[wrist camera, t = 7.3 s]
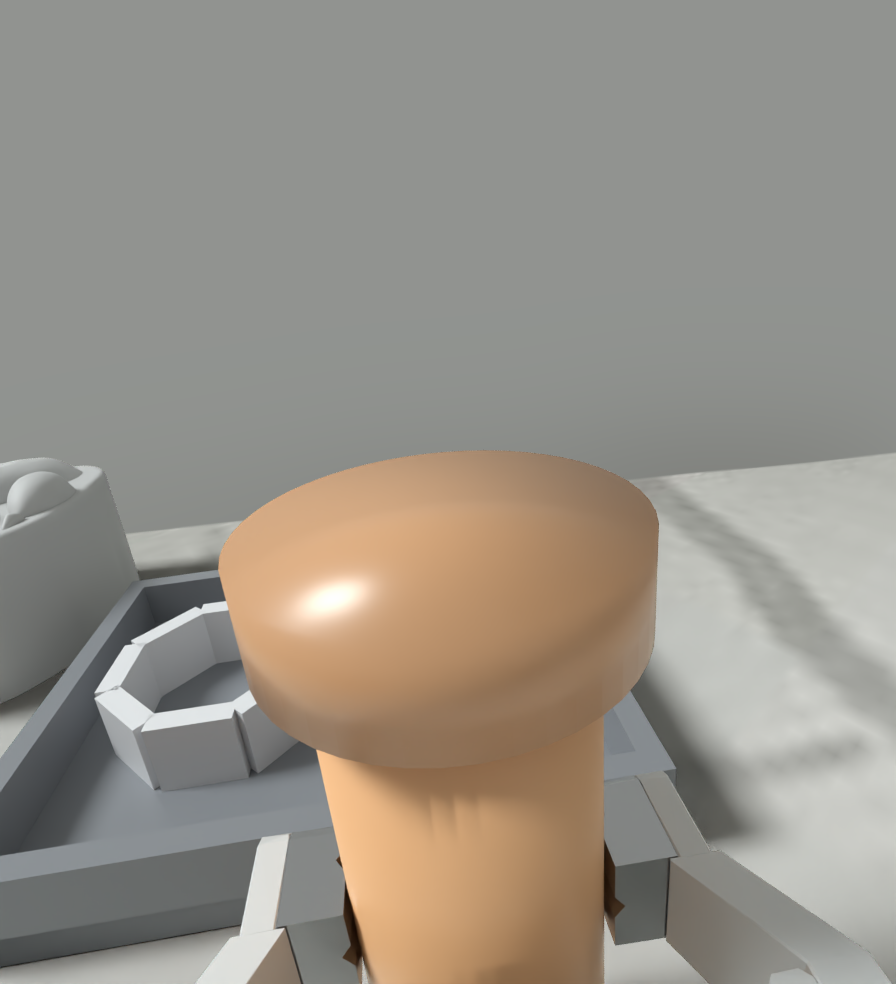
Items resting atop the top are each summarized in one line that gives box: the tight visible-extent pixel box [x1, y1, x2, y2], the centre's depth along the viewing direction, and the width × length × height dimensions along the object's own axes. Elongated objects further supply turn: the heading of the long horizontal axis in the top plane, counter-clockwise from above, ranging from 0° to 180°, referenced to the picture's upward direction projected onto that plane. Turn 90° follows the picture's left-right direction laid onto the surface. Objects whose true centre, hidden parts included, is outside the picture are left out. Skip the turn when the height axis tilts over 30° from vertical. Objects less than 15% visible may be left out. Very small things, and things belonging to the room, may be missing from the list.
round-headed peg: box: [218, 450, 659, 984], centre depth 10 cm, size 5×5×13 cm
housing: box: [0, 570, 677, 967], centre depth 24 cm, size 16×20×4 cm
